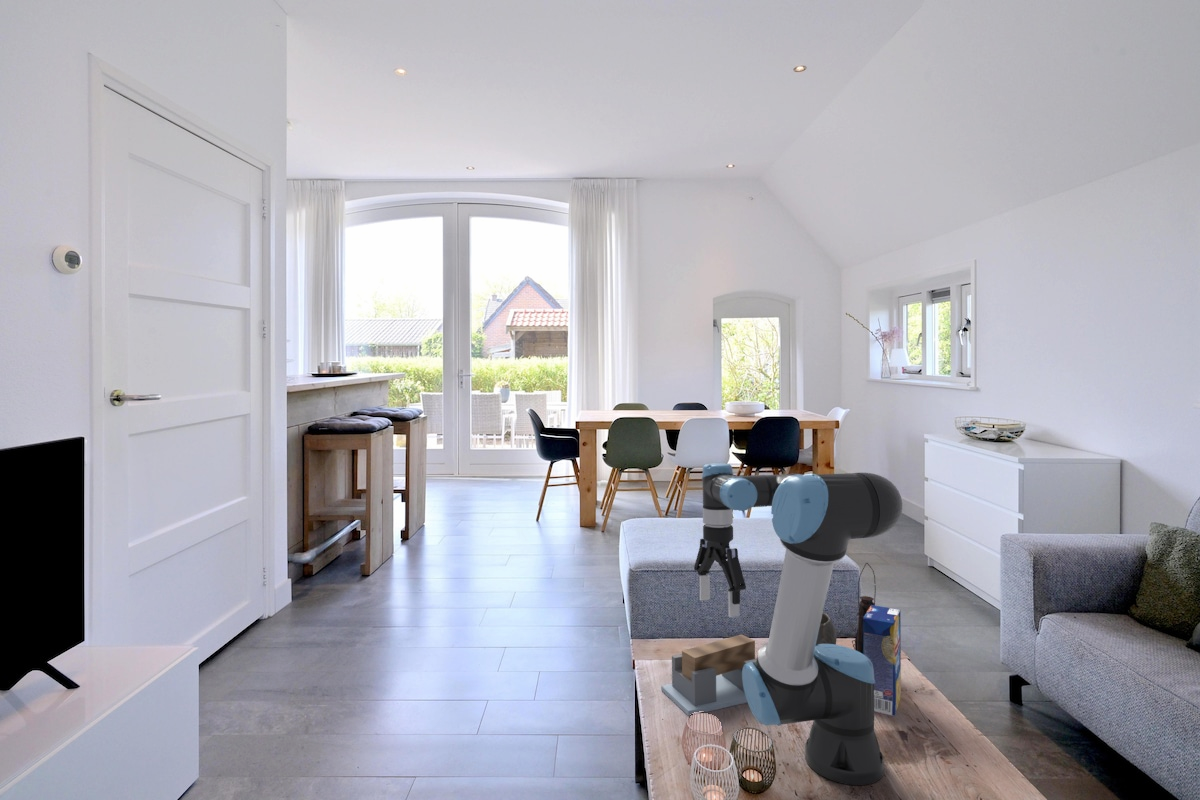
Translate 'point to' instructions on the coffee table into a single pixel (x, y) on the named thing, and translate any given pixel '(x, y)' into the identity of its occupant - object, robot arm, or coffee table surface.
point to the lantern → (863, 609)
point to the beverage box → (884, 655)
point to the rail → (719, 655)
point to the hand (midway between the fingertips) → (718, 607)
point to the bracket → (705, 688)
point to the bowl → (825, 631)
